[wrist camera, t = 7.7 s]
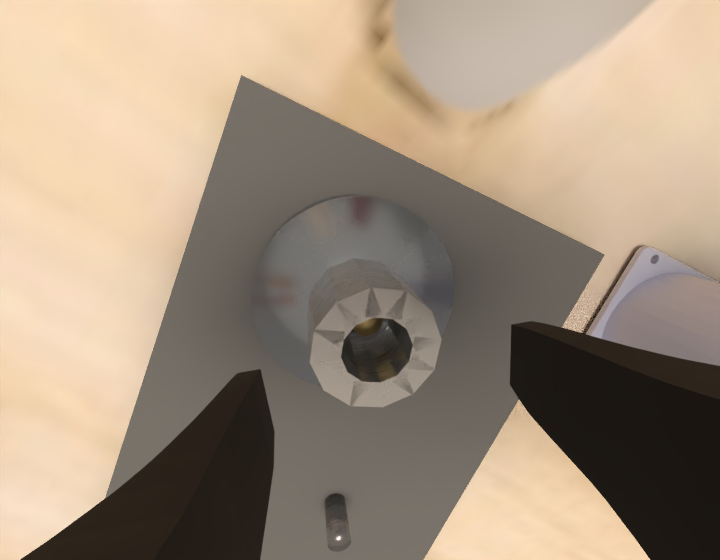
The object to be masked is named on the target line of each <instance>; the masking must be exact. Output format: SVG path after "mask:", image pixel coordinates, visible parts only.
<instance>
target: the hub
mask: <svg viewBox="0 0 720 560" xmlns="http://www.w3.org/2000/svg"><path fill="white" fill-rule="evenodd" d="M352 258H356V259H365V260H373V261H381V262H382V263H383V264H384V265H385V266H387V267H388V268H389V269H390V270H392V271H393V272H394V273H396V274H397V275H398V276H400V277H401V278H402V279H403V280H404V281H405V282H406V283H407V284H408V286H409V287H410V288H411V289H412V290H413V291H414V292H415V293H416V294H417V295H418V296H419V297H420V298H421V299H422V300H423V301H424V302H425V304H426V305H427V306H428V307H429V308H430V309H431V310H432V313H433V316H434V319H435V322H436V325H437V327H438V330H439V333H440V336H442V334H443V333H444V330H445V328H446V326H447V324H448V321H449V318H450V315H451V312H452V307H453V301H454V287H455V285H454V274H453V270H452V265H451V261H450V259H449V256H448V254H447V251H446V249H445V247H444V245H443V244H442V242H441V240H440V238H439V237H438V236H437V234H436V233H435V232H434V231H433V229H432V228H431V227H430V226H429V225H428V224H427V223H426V222H425V221H424V220H423V219H421V218H420V217H418V216H417V215H416V214H414V213H413V212H411V211H410V210H408V209H406V208H404V207H402V206H400V205H397V204H395V203H392V202H389V201H386V200H384V199H381V198H376V197H371V196H364V195H344V196H337V197H332V198H328V199H325V200H322V201H319V202H316V203H314V204H312V205H310V206H308V207H306V208H304V209H302V210H301V211H299V212H298V213H296V214H295V215H293V216H292V217H291V218H290V219H289V220H287V221H286V222H285V223H284V224H283V225H282V226H281V227H280V228H279V229H278V231H277V232H276V233H275V234H274V235H273V237H272V238H271V240H270V242H269V243H268V245H267V246H266V248H265V250H264V253H263V255H262V257H261V259H260V262H259V264H258V266H257V270H256V273H255V277H254V281H253V288H252V309H253V316H254V321H255V324H256V327H257V331H258V333H259V335H260V337H261V339H262V342H263V343H264V345H265V346H266V348H267V349H268V351H269V352H270V354H271V355H272V356H273V357H274V358H275V359H276V361H277V362H278V363H279V364H281V365H282V366H283V367H284V368H285V369H286V370H288V371H289V372H291V373H292V374H294V375H295V376H297V377H298V378H300V379H302V380H304V381H306V382H309V383H311V384H314V385H317V386H320V387H322V386H321V384H320V382H319V380H318V378H317V376H316V374H315V372H314V370H313V368H312V366H311V364H310V362H309V344H308V325H307V314H308V306H309V298H310V290H311V289H312V288H313V286H314V285H315V284H316V283H317V281H318V280H319V279H320V277H321V276H322V275H323V274H324V272H325V271H326V270H327V269H328V268H330V267H333V266H335V265H338V264H340V263H342V262H345V261H347V260H350V259H352ZM381 323H382V318H375V317H374V318H371V319H369V320H367V321H364V322H362V323H360V324H357V325H355V327H354V328H353V329H352V330H351V332H356V333H357V334H359V335H362V336H369V335H372V334H374V333H375V332H377V331H378V330H379V328H380V326H381Z"/></svg>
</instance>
